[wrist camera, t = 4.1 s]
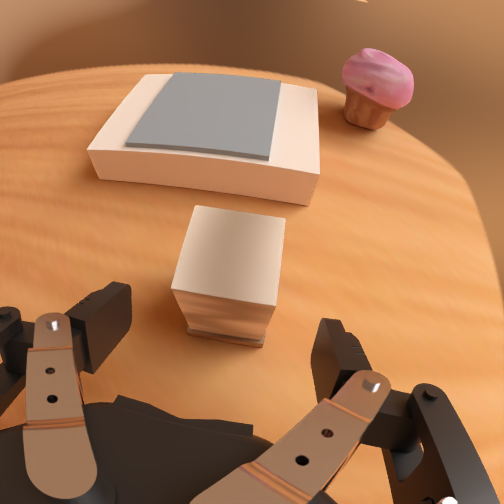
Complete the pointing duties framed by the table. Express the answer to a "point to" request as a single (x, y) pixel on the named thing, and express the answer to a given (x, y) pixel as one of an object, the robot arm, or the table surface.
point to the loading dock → (214, 136)
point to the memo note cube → (229, 274)
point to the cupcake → (375, 88)
